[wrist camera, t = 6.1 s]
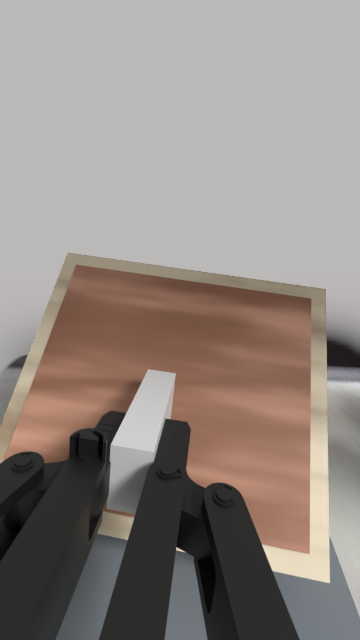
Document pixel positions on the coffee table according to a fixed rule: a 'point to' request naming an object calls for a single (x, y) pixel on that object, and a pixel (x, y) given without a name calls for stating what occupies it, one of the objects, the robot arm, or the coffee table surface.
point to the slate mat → (185, 604)
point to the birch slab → (192, 387)
